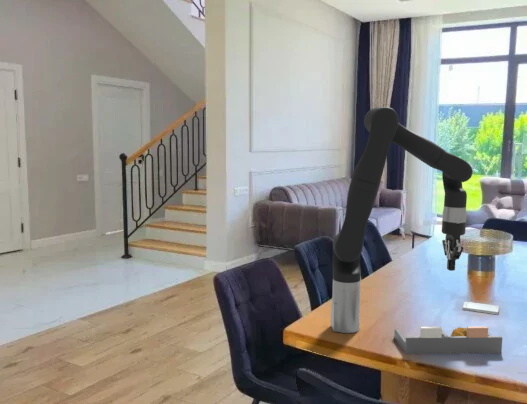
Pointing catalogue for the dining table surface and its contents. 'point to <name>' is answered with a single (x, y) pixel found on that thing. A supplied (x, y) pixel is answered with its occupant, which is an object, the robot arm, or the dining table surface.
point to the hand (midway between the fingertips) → (450, 270)
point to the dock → (450, 342)
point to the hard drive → (481, 308)
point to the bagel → (459, 332)
